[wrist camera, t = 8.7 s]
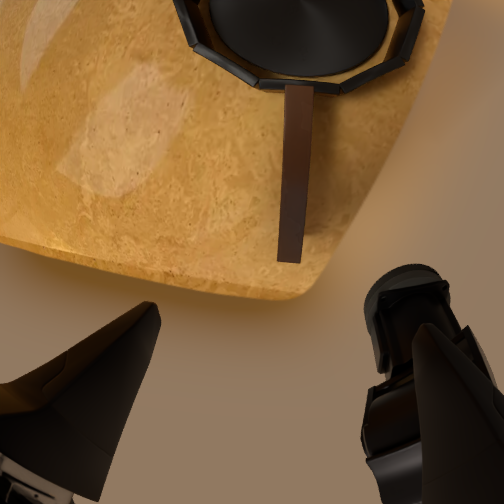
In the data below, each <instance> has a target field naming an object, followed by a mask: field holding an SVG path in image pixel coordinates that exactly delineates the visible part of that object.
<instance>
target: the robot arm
mask: <svg viewBox="0 0 504 504" xmlns="http://www.w3.org/2000/svg"><path fill="white" fill-rule="evenodd" d="M443 286H444V287H443ZM448 292H449V283H448V282H447V281H446V280H441V281H436V282H431V283H426V284H421V285H415V286H410V287H404V288H398V289H392V290H386V291H382V292H380V293H378V295H377V306H376V315H374V316H373V317H372V329H371V340H372V344H373V350H374V355H375V361H376V366H377V372H378V373H380V374H383V373H385V377H386V381H385V382H383V383H381V384H379V385H377V386H373V387H371V388H369V389H368V395H367V402H366V407H365V413H364V418H363V424H362V429H361V442H362V446H363V449H364V452H365V454H366V456H367V458H366V463H367V464H368V466H369V467H370V469H371V470H372V472H373V474H374V476H375V478H376V481H377V484H378V487H379V492H380V497H381V501H382V503H383V504H504V395H503V394H502V393H501V392H500V391H499V390H498V388H497V384H496V382H495V378H494V375H493V372H492V370H491V368H490V365H489V363H488V361H487V359H486V356H485V354H484V352H483V350H482V348H481V346H480V345H479V343H478V341H477V339H476V338H475V336H474V334H473V332H472V331H471V329H470V327H469V326H468V325H467V326H466V327H465V328H464V329H462V330H461V327H460V325H459V323H458V321H457V320H456V318H455V315H454V314H453V312H452V310H451V308H450V306H449V304H448V302H447V296H448ZM382 297H385V298H383V299H382ZM160 327H161V318H160V314H159V311H158V307H157V305H156V303H154V302H148V301H144V302H142V303H141V304H139V305H137V306H136V307H134V308H132V309H131V310H129V311H128V312H126V313H124V314H123V315H121V316H120V317H118V318H117V319H115V320H113V321H112V322H110V323H109V324H107V325H106V326H104V327H102V328H101V329H99V330H98V331H96V332H95V333H93V334H91V335H90V336H88V337H87V338H85V339H84V340H82V341H80V342H79V343H77V344H76V345H75V346H73V347H71V348H70V349H68V351H65V352H63V353H62V354H60V355H59V356H57V357H55V358H54V359H52V360H51V361H49V362H47V363H45V364H44V365H42V366H40V367H39V368H37V369H35V370H33V371H31V372H29V373H27V374H25V375H23V376H21V377H19V378H18V379H16V380H14V381H11V382H9V383H4V384H0V504H74V501H73V499H72V497H73V494H74V493H75V494H77V495H80V496H82V497H85V498H87V499H90V500H92V501H96V502H98V501H99V499H100V496H101V493H102V490H103V487H104V483H105V481H106V477H107V474H108V471H109V469H110V466H111V463H112V460H113V456H114V454H115V451H116V448H117V445H118V442H119V440H120V437H121V434H122V431H123V429H124V426H125V424H126V421H127V418H128V416H129V413H130V410H131V408H132V405H133V402H134V400H135V398H136V395H137V393H138V390H139V388H140V385H141V383H142V380H143V378H144V376H145V373H146V371H147V368H148V366H149V363H150V360H151V357H152V353H153V350H154V347H155V344H156V340H157V337H158V333H159V330H160Z"/></svg>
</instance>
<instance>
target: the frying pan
mask: <svg viewBox="0 0 504 504" xmlns="http://www.w3.org/2000/svg"><path fill="white" fill-rule="evenodd" d="M199 2H200V0H173V3H174V6H175V8H176V11H177V14H178V17H179V19H180V22H181V25H182V28H183V31H184V34H185V36H186V39H187V42H188V45H189V47H191V48H193V51H194V52H196V53H198V54H199V55H201V56H203V57H205V58H206V59H208V60H210V61H212V62H213V63H215V64H217V65H218V66H220V67H222V68H223V69H225V70H227V71H228V72H230V73H232V74H233V75H235V76H236V77H238V78H239V79H241V80H242V81H244V82H246V83H247V84H249V85H250V86H252V87H253V88H256V89H258V90H262V91H264V92H272V93H285V106H284V137H283V162H282V184H281V203H280V221H279V238H278V253H277V261H278V262H288V263H299V264H300V262H301V254H302V245H303V236H304V226H305V217H306V206H307V195H308V183H309V171H310V157H311V141H312V123H313V101H314V95H318V96H327V97H333V96H339V95H343V94H346V93H348V92H350V91H352V90H354V89H356V88H358V87H360V86H362V85H364V84H366V83H368V82H370V81H372V80H374V79H376V78H378V77H380V76H382V75H384V74H386V73H389V72H391V71H393V70H395V69H397V68H400V67H402V66H404V65H405V62H408V61H409V59H410V56H411V53H412V50H413V47H414V44H415V41H416V38H417V35H418V32H419V29H420V26H421V23H422V20H423V16H424V13H425V10H424V9H422V8H423V7H424V4H423V1H422V0H392V2H393V4H394V6H395V8H396V11H397V13H398V15H399V20H398V23H397V26H396V28H395V31H394V34H393V37H392V40H391V42H390V45H389V48H388V51H387V53H386V56H385V59H384V61H383V63H380V64H378V65H376V66H374V67H372V68H370V69H368V70H366V71H364V72H362V73H359V74H357V75H355V76H353V77H352V78H350V79H348V80H346V81H344V82H342V83H340V84H335V83H327V82H318V81H307V80H292V79H266V78H259V77H257V76H256V75H254V74H252V73H251V72H249V71H248V70H246V69H245V68H243V67H242V66H240V65H238V64H237V63H235V62H233V61H232V60H230V59H228V58H227V57H225V56H223V55H222V54H220V53H218V52H216V51H215V50H214V47H213V45H212V42H211V39H210V37H209V34H208V31H207V28H206V26H205V23H204V20H203V18H202V15H201V13H200V10H199V7H198V4H199ZM209 8H210V16H211V20H212V23H213V25H214V28H215V30H216V31H217V33H218V35H219V36H220V38H221V39H222V40H223V41H224V43H225V44H226V45H227V46H228V47H229V48H230V49H231V50H232V51H233V52H235V53H236V54H237V55H239V56H240V57H241V58H243V59H244V60H246V61H247V62H249V63H251V64H253V65H255V66H257V67H259V68H261V69H264V70H267V71H270V72H273V73H276V74H281V75H285V76H292V77H305V78H313V77H324V76H329V75H335V74H338V73H341V72H344V71H347V70H349V69H351V68H353V67H355V66H357V65H359V64H360V63H362V62H363V61H365V60H366V59H367V58H369V57H370V56H371V55H372V54H373V53H374V52H375V51H376V50H377V48H378V47H379V46H380V44H381V42H382V41H383V39H384V36H385V34H386V31H387V26H388V9H387V4H386V1H385V0H210V1H209Z"/></svg>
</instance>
